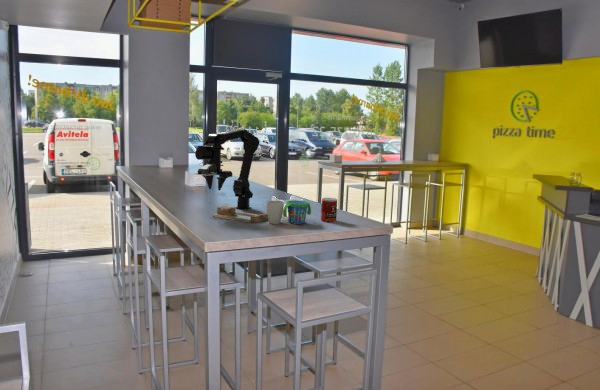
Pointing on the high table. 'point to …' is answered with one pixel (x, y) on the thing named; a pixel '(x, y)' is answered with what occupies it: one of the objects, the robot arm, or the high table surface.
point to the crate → (226, 210)
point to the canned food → (328, 209)
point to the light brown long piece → (254, 217)
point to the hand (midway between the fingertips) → (214, 189)
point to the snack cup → (297, 211)
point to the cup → (275, 211)
